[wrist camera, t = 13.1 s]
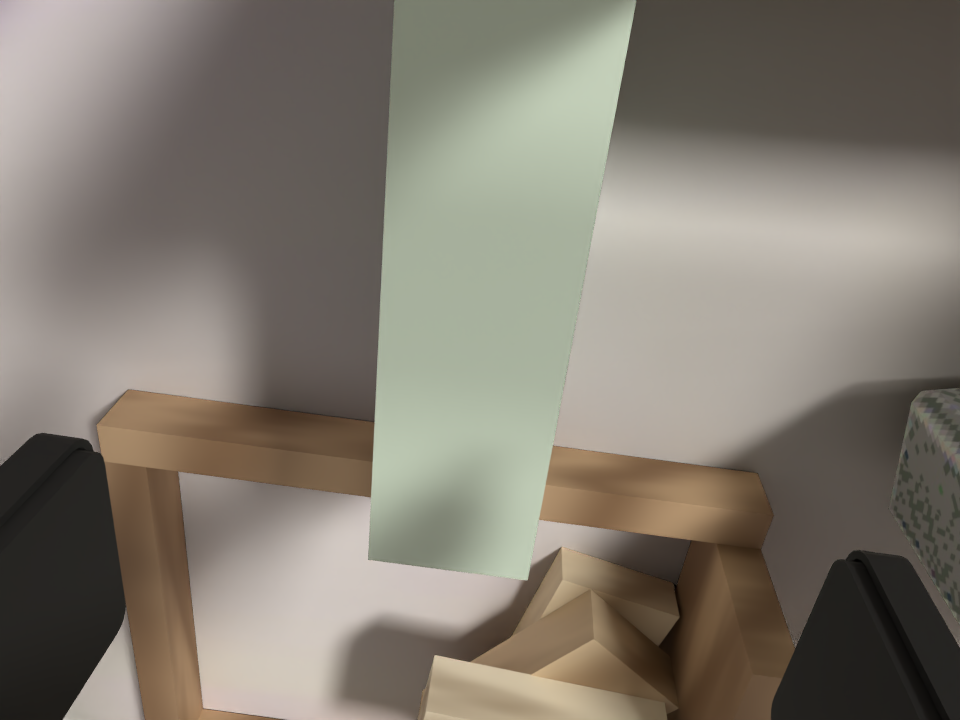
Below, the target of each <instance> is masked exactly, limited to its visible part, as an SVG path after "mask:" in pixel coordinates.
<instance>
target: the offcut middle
mask: <svg viewBox="0 0 960 720" xmlns="http://www.w3.org/2000/svg"><path fill="white" fill-rule="evenodd" d="M471 663H476V664H481V665H486V666H491V667H496V668H501V669H506V670H510V671H515V672H520V673H525V674H530V675H532V676H537V677H542V678H547V679H552V680H556V681H561V682H566V683H571V684H576V685H581V686H586V687H591V688H596V689H601V690H606V691H611V692H616V693H620V694H625V695H630V696H635V697H640V698H645V699H650V700H655V701H660V702H665V708H666V714H669V713H671V712H673V711H675V710H677V709H679V707H678V701H677V695H676V689H675V683H674V677H673V671H672V665H671V659H670V656H669V655H668V654H666V653H665V652H664V651H663V650H662V649H661V648H659V647H658V646H657V645H656V644H655V643H654V642H652V641H651V640H650V639H649V638H648V637H646V636H645V635H644V634H643V633H642V632H641V631H639V630H638V629H637V628H636V627H635V626H633V625H632V624H631V623H630V622H629V621H628V620H626V619H625V618H624V617H623V616H622V615H621V614H619V613H618V612H617V611H616V610H615V609H613V608H612V607H611V606H610V605H609V604H608V603H606V602H605V601H604V600H603V599H602V598H601V597H599V596H598V595H597V594H596V593H595V592H593V591H592V590H591V589H590V590H589V591H587V592H585V593H584V594H582V595H580V596H579V597H577V598H575V599H574V600H572V601H570V602H569V603H567V604H565V605H564V606H562V607H560V608H559V609H557V610H555V611H554V612H552V613H550V614H549V615H547V616H545V617H544V618H542V619H540V620H539V621H537V622H535V623H534V624H532V625H530V626H529V627H527V628H525V629H524V630H522V631H520V632H519V633H517V634H515V635H514V636H512V637H510V638H509V639H507V640H505V641H504V642H502V643H500V644H499V645H497V646H495V647H494V648H492V649H490V650H489V651H487V652H486V653H484V654H482V655H481V656H479V657H477V658H476V659H474V660H472V661H471ZM424 692H425V689H424V690H422V697H421V703H420V707H421V704H422V700H423V696H424ZM419 711H420V709H419Z"/></svg>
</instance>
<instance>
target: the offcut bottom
mask: <svg viewBox="0 0 960 720" xmlns="http://www.w3.org/2000/svg"><path fill="white" fill-rule="evenodd" d="M590 589H591V590H592V591H593V592H595V593H596V594H597V595H598V596H599V597H601V598H602V599H603V600H604V601H605V602H606V603H608V604H609V605H610V606H611V607H612V608H613V609H615V610H616V611H617V612H618V613H619V614H621V615H622V616H623V617H624V618H625V619H626V620H628V621H629V622H630V623H631V624H632V625H633V626H635V627H636V628H637V629H638V630H639V631H641V632H642V633H643V634H644V635H645V636H646V637H648V638H649V639H650V640H651V641H652V642H654V643H655V644H656V645H657V646H658V647H659V645H660V644H661V642H662V641H663V640H664V638H665V637H666V635H667V634H668V633H669V631H670V630H671V628H672V627H673V626H674V624H675V623H676V621H677V620H678V619H679V617H680V616H679V611H678V606H677V601H676V596H675V591H674V586H673V583H672V582H668V581H665V580H662V579H659V578H656V577H653V576H650V575H647V574H644V573H641V572H638V571H635V570H632V569H629V568H625V567H622V566H619V565H616V564H613V563H610V562H607V561H604V560H601V559H598V558H595V557H592V556H589V555H586V554H582V553H579V552H576V551H573V550H570V549H567V548H564V547H561V549H560V550H559V552H558V554H557V556H556V558H555V559H554V561H553V563H552V565H551V566H550V568H549V570H548V572H547V574H546V575H545V577H544V579H543V581H542V583H541V584H540V586H539V588H538V590H537V591H536V593H535V595H534V597H533V599H532V600H531V602H530V604H529V606H528V608H527V609H526V611H525V613H524V615H523V616H522V618H521V620H520V622H519V624H518V625H517V627H516V629H515V631H514V633H513V634H512V636H514V635H515V634H517V633H519V632H520V631H522V630H524V629H525V628H527V627H529V626H530V625H532V624H534V623H535V622H537V621H539V620H540V619H542V618H544V617H545V616H547V615H549V614H550V613H552V612H554V611H555V610H557V609H559V608H560V607H562V606H564V605H565V604H567V603H569V602H570V601H572V600H574V599H575V598H577V597H579V596H580V595H582V594H584V593H585V592H587V591H589V590H590ZM512 636H511V637H512Z"/></svg>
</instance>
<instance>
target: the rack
mask: <svg viewBox="0 0 960 720" xmlns="http://www.w3.org/2000/svg"><path fill="white" fill-rule="evenodd" d="M374 424H375V422H369V421H361V420H354V419H346V418H339V417H331V416H324V415H316V414H309V413H301V412H294V411H286V410H279V409H271V408H264V407H256V406H249V405H241V404H234V403H226V402H219V401H211V400H203V399H196V398H188V397H181V396H173V395H166V394H158V393H151V392H143V391H136V390H127V392H126V393H125V394H124V395H123V396H122V397H121V398H120V399H119V400H118V402H117V403H116V404H115V405H114V406H113V407H112V408H111V409H110V411H109V412H108V413H107V414H106V415H105V416H104V417H103V418H102V419H101V421H100V422H99V423H98V424H97V431H98V437H99V443H100V449H101V455H102V456H103V458H104V462H105V467H106V474H107V481H108V488H109V494H110V501H111V508H112V514H113V521H114V528H115V535H116V541H117V548H118V555H119V562H120V568H121V575H122V582H123V588H124V595H125V601H126V607H127V613H128V619H129V625H130V632H131V638H132V644H133V650H134V656H135V662H136V668H137V674H138V680H139V686H140V692H141V698H142V704H143V710H144V717H145V720H281V719H273V718H266V717H259V716H252V715H244V714H237V713H230V712H222V711H215V710H208V709H203V705H202V695H201V686H200V676H199V666H198V657H197V647H196V638H195V628H194V619H193V609H192V600H191V590H190V581H189V571H188V562H187V552H186V543H185V533H184V524H183V514H182V505H181V495H180V486H179V476H178V471H179V472H186V473H194V474H201V475H209V476H216V477H224V478H231V479H239V480H246V481H253V482H261V483H268V484H276V485H283V486H291V487H298V488H306V489H313V490H321V491H328V492H336V493H343V494H351V495H358V496H365V497H371V489H372V467H373V446H374ZM773 516H774V515H773V512H772V509H771V507H770V504H769V502H768V499H767V496H766V494H765V491H764V489H763V486H762V484H761V481H760V478H759V476H758V473H752V472H745V471H737V470H730V469H722V468H715V467H707V466H700V465H692V464H684V463H677V462H669V461H662V460H654V459H647V458H639V457H632V456H624V455H617V454H609V453H602V452H594V451H587V450H579V449H572V448H564V447H557V446H553V448H552V453H551V458H550V464H549V469H548V474H547V480H546V485H545V490H544V496H543V501H542V506H541V511H540V517H539V520H545V521H552V522H560V523H567V524H575V525H582V526H589V527H597V528H604V529H612V530H619V531H627V532H634V533H642V534H649V535H657V536H664V537H672V538H679V539H687V540H691V543H690V546H689V549H688V552H687V555H686V559H685V562H684V565H683V568H682V571H681V574H680V577H679V580H678V583H677V586H676V589H675V596H676V601H677V606H678V611H679V616H680V617H679V619H678V620H677V621H676V623H675V624H674V626H673V627H672V628H671V630H670V631H669V633H668V634H667V635H666V637H665V638H664V640H663V641H662V642H661V644H660V645H659V648H661V649H662V650H663V651H664V652H665V653H666V654H668V655H669V656H670V659H671V665H672V671H673V677H674V683H675V689H676V695H677V701H678V707H679V709H677V710H675V711H673V712H671V713H669V714H667V720H771V707H772V702H773V699H774V696H775V694H776V691H777V689H778V687H779V685H780V682H781V680H782V678H783V676H784V673H785V671H786V669H787V666H788V664H789V662H790V660H791V657H792V655H793V653H794V651H795V647H794V644H793V641H792V639H791V636H790V633H789V630H788V627H787V624H786V621H785V618H784V615H783V613H782V610H781V607H780V604H779V601H778V598H777V595H776V592H775V589H774V587H773V584H772V581H771V578H770V575H769V572H768V569H767V566H766V563H765V560H764V558H763V555H762V552H761V547H762V545H763V542H764V540H765V537H766V534H767V532H768V529H769V527H770V524H771V522H772V519H773Z"/></svg>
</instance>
